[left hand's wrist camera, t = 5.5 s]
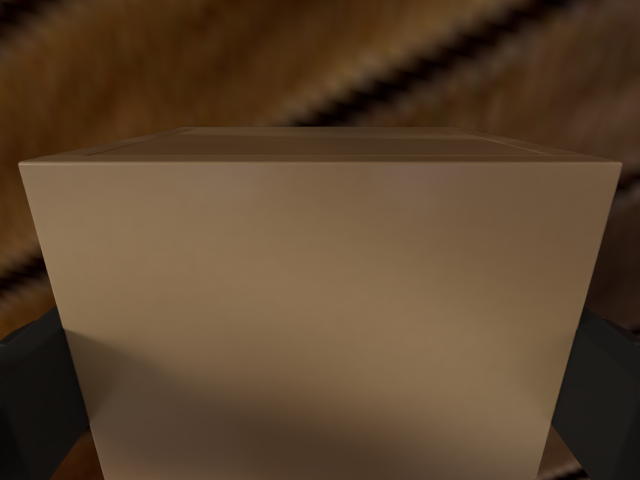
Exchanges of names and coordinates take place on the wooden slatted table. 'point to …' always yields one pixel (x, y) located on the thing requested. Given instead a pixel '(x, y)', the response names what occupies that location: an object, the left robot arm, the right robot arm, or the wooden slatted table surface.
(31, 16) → the wooden slatted table surface
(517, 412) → the cabinet
